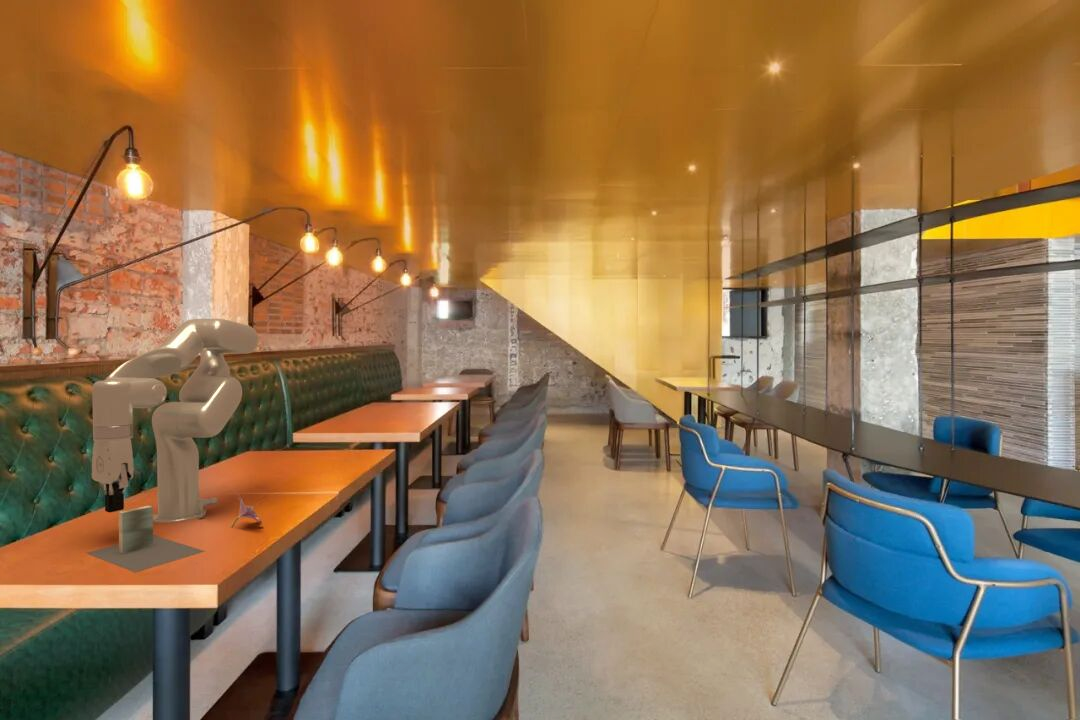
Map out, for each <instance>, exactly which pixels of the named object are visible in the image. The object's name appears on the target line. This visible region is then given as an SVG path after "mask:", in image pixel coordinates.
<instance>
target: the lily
mask: <svg viewBox="0 0 1080 720" xmlns="http://www.w3.org/2000/svg"><path fill="white" fill-rule="evenodd" d="M232 490H233V491H234V492H235V494H236V495H238V496H236V497H237V499H238V500H239V501H240V502H239V503H240V505H239V515H238V516H237V518H236V519H235V520H234V522H233V523H232V525H231V527H230V528H233V527H234V526H235V524H236V523H237V521H238V520H239V519H240V518H242V517H243V518H251V519H253V520H255V521H256V522H257V523H259V524H260V526H262V528H263V529H264V528H265V527H264V526H263V524H262V520H261V519H260V518H259V515H258V514H257V512H256V511H254V509H255V508H256V506H255V505H253V503H252V505H251V506H249V505H245V503H244V502H243V499H242V497H241V496H240V494H239V493H238V492H237V491H236V490H235V489H233V488H232Z"/></svg>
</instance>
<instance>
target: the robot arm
mask: <svg viewBox="0 0 1080 720" xmlns="http://www.w3.org/2000/svg"><path fill="white" fill-rule="evenodd" d="M259 341H260V338H259V335H258V332H257V331H256V329H254V328H253V326H250V325H248V324H243V323H241V322H240V323H239V322H237V321H232V320H229V319H223V318H193V319H188V320H186V321H184V322H183V323H182V324H181V325H180V326H178V327H177V328H176V329H175V330H174V331H173V332H172V333H171V334H170V335H169V336H168V337H167V338H166V339H165V340H164V341H163V342H162V343H161V344H159V346H157V347H156V348H154V349H151V350H149V351H147V352H144V353H142V354H139V355H138V356H136V357H133V358H131V359H129V360H127V361H125V362H124V363H122V364H120V366H118V367H117V368H115V369H114V370H113V371H112V372H111V373H110V374H109V375H108V376H107V377H105V379H104V380H98V381H96V382H94V384H93V385H92V390H91V391H92V392H91V394H92V438H93V439H92V441H93V447H92V455H91V457H92V458H91V479H92V480H94V481H95V482H98V483H101V484H102V485H103V486H102V487H103V494H104V511H105V512H106V513H107V512H108V513H114V512H121V511H124V509H125V498H124V497H125V492H126V491H125V490H126V488H128V487H129V481H132V479H133V478H134V456H133V455H134V453H133V446H132V445H133V444H132V439H133V438H134V415H133V414H134V410H133V409H151V408H155V407H157V408H155V409H154V411H153V413H152V417H151V426H152V430H153V434H154V438H155V445H156V461H157V462H156V469H157V473H156V474H157V477H156V478H157V481H156V482H157V513H155V514H153V523H161V524H162V523H163V524H164V523H165V524H166V523H177V522H183V521H184V522H185V521H189V520H192V519H197V520H199V519H202V518H204V517H205V516H206V515H207V513H206V512H207V511H206V507H207V506H213V505H216V504H218V498H217V497H216V496H214V497H210V498H207V497H205V498H204V497H203V498H202V497H200V476H199V475H200V473H199V472H200V469H199V467H200V465H199V464H200V462H199V461H200V457H199V456H200V455H199V449H198V447H197V445H196V443H195V441H194V438H205V439H206V438H213V437H215V436H217V435H219V434H220V432H222V430H223V429H224V428H225V426H226V425H227V423H228V422H229V420H230V419H231V418H232V416H233V414H234V413H235V412H236V410H237V409H238V406H239V405H240V403H241V401H242V397H243V387H242V385H241V382H240V381H239V380H238V378H235V377H233V376H230V375H231V374H230V373H231V369H230V366H229V364H228V363H227V361H226V359H225V357H224V355H226V354H227V355H230V354H231V355H240V354H241V355H242V354H251V353H253V352H254V351H255V350H256V349H257V347H258V345H259ZM199 355H200V363H199V365H198V366H197V368H195V370H194V371H193V372H192V374H191V375H190V376H189V378H188V379H187V380H186V381H185V383H184V384H183V385H182V387H181V389H180V390H179V393H178V399H179V401H173V402H172V401H171V402H166V403H164V401H165V399H166V398H167V394H168V391H167V387H166V385H165V384H164V383H163V382H162V380H159V379H158V378H161V377H165V376H169V375H173V374H176V373H180V372H182V371H184V370H186V369H187V368H188V367H189V366H190V365H191V364H192V363H193V361H195V359H196V358H197V357H198V356H199ZM162 403H163V404H162ZM204 508H205V509H204Z"/></svg>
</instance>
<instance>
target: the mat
mask: <svg viewBox="0 0 1080 720" xmlns="http://www.w3.org/2000/svg"><path fill="white" fill-rule="evenodd" d="M204 552H206V550H203V549H199V548H196V547H193V546H191V545H186V544H184V543H180V542H177V541H174V540H171V539H168V538H166V537H165V538H164V537H161V536H158V535H155V534H153V546H150V547H147V548H143V549H139V550H136V551H132V552H128V553H125V554H123V553H120V552H119V543H118V544H114V545H110V546H106V547H103V548H100V549H95V550H91V551H88V552H86V554H87V555H89V556H92V557H94V558H97V559H100V560H103V561H104V562H107V563H109V564H112V565H116V566H118V567H120V568H123V569H126V570H128V571H131V572H133V573H138V572H141V571H144V570H147V569H151V568H154V567H158V566H162V565H164V564H168V563H171V562H175V561H177V560H181V559H184V558H189V557H191V556H194V555H198V554H201V553H204Z"/></svg>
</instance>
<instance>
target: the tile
mask: <svg viewBox="0 0 1080 720" xmlns="http://www.w3.org/2000/svg"><path fill="white" fill-rule="evenodd" d="M153 508H154V507H153V505H152V506H150V505H144V506H140V507H136V508H131V509H126V510H120V511H118V544H119V552H120V553H123V554H125V553H128V552H132V551H136V550H139V549H143V548H147V547H150V546H153V535H154V522H153V515H154V512H153V510H154V509H153Z"/></svg>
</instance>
